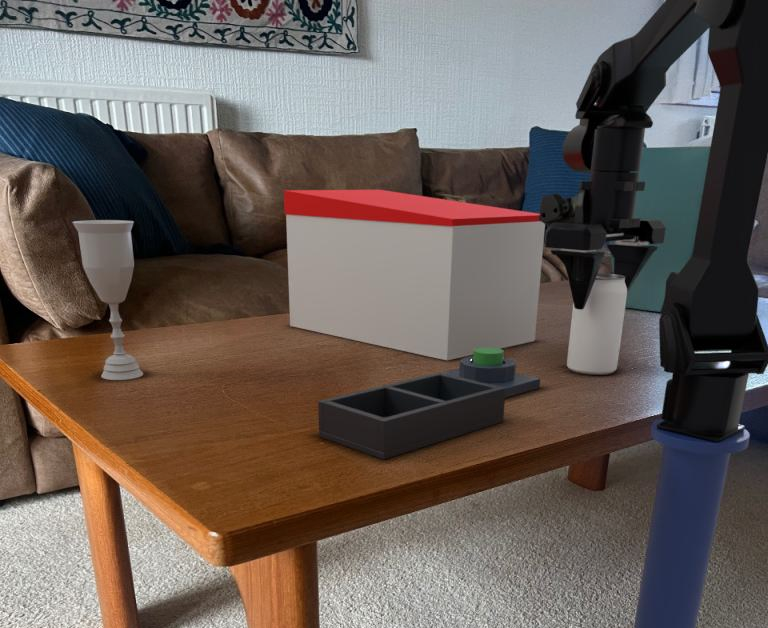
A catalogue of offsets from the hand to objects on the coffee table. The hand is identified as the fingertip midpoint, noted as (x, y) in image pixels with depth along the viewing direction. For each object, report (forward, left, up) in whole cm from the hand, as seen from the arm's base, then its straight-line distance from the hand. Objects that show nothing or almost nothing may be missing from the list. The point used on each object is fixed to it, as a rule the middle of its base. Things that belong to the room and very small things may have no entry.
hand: (599, 305), depth 100 cm
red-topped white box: (+34, 0, -9) cm, 35 cm away
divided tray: (-2, +36, -8) cm, 37 cm away
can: (0, 0, -9) cm, 9 cm away
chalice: (+38, +47, -9) cm, 61 cm away
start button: (+4, +17, -6) cm, 18 cm away
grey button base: (+4, +17, -8) cm, 19 cm away
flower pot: (+19, -56, -9) cm, 60 cm away
